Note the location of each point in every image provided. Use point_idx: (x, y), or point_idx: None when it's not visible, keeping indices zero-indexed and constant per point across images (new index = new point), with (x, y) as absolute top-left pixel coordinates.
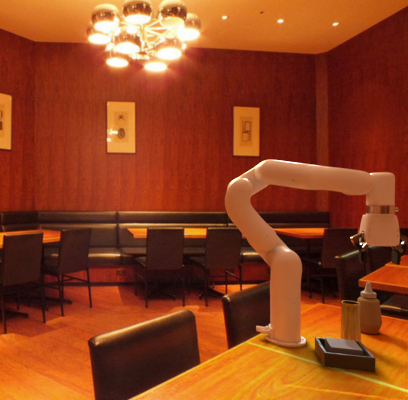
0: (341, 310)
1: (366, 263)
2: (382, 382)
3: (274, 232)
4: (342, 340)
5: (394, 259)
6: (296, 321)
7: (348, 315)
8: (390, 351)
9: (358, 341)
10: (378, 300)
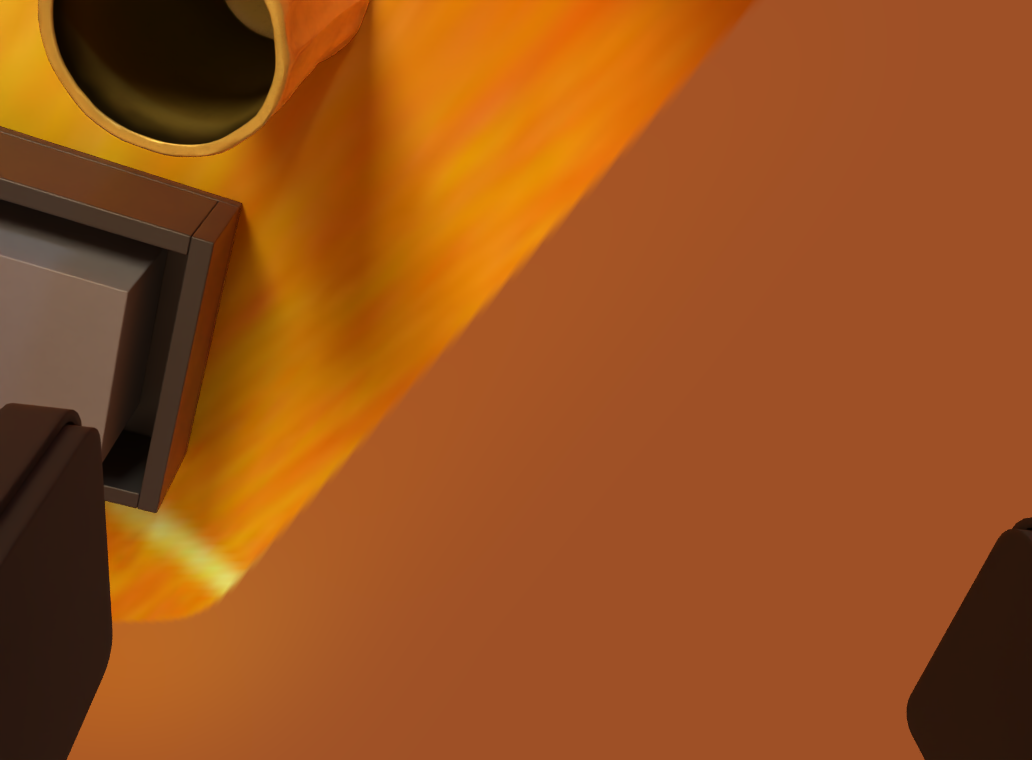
0: None
1: (100, 649)
2: (171, 529)
3: None
4: (21, 294)
5: (1015, 727)
6: None
7: (149, 81)
8: (540, 130)
9: (197, 244)
10: None
